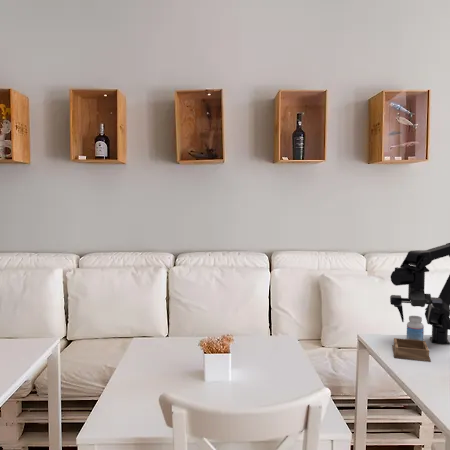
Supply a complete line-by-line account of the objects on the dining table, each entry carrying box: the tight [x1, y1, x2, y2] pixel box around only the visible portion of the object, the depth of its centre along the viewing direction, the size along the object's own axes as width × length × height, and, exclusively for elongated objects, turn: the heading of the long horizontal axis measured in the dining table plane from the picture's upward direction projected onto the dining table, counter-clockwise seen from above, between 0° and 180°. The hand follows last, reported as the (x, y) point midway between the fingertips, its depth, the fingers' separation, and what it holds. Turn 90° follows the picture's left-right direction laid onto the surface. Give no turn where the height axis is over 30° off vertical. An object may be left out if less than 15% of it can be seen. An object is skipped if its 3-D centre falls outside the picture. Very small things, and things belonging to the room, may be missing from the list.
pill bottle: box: [406, 315, 425, 341], centre depth 171 cm, size 6×6×11 cm
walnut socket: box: [391, 337, 432, 363], centre depth 161 cm, size 12×12×4 cm
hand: (415, 323), depth 171 cm, fingers open, 9 cm apart
